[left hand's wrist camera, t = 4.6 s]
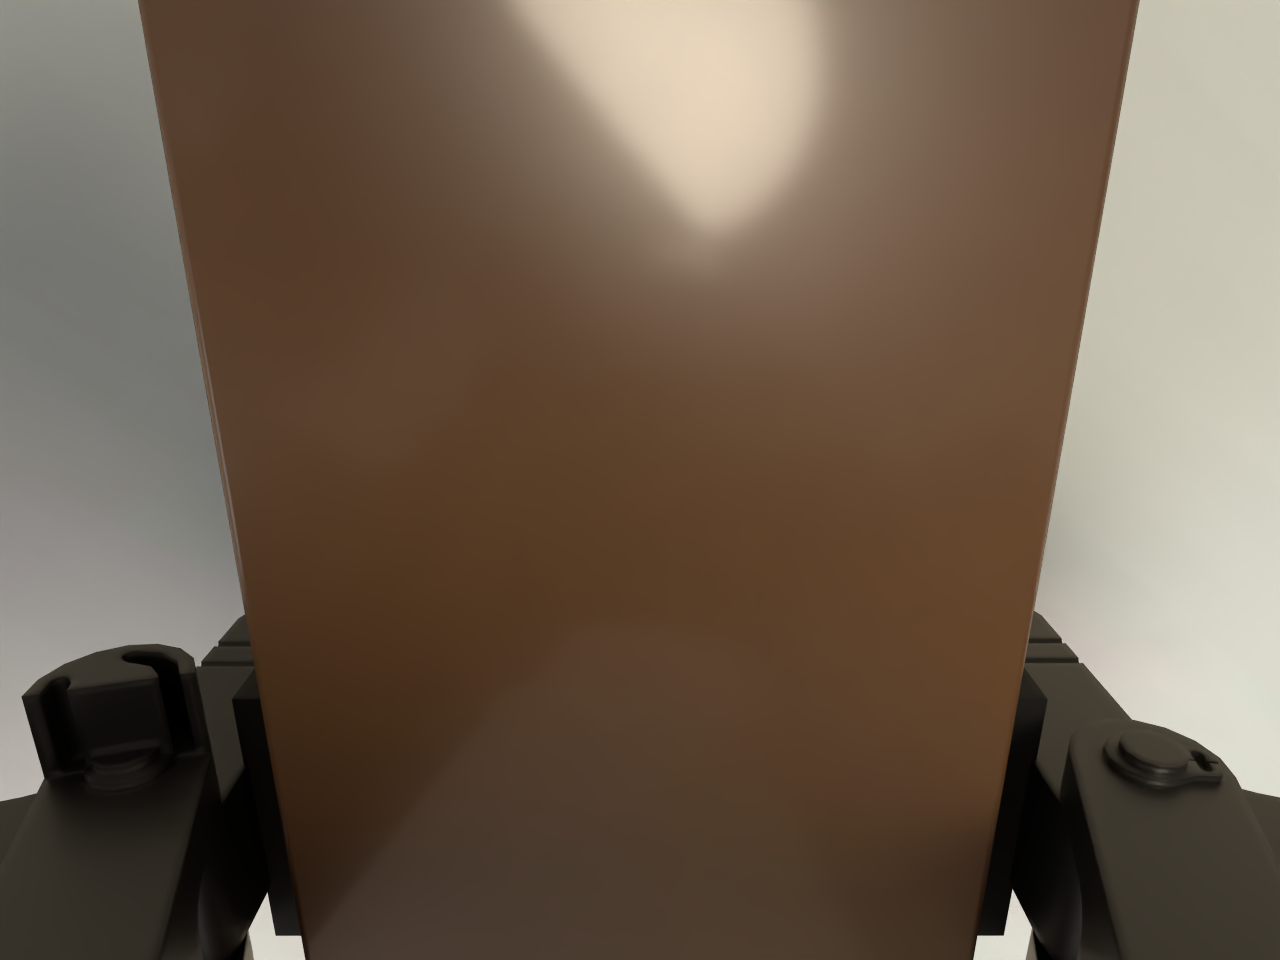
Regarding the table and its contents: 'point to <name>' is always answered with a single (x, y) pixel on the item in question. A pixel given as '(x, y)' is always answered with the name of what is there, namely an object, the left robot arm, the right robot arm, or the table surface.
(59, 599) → the table surface
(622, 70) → the post
